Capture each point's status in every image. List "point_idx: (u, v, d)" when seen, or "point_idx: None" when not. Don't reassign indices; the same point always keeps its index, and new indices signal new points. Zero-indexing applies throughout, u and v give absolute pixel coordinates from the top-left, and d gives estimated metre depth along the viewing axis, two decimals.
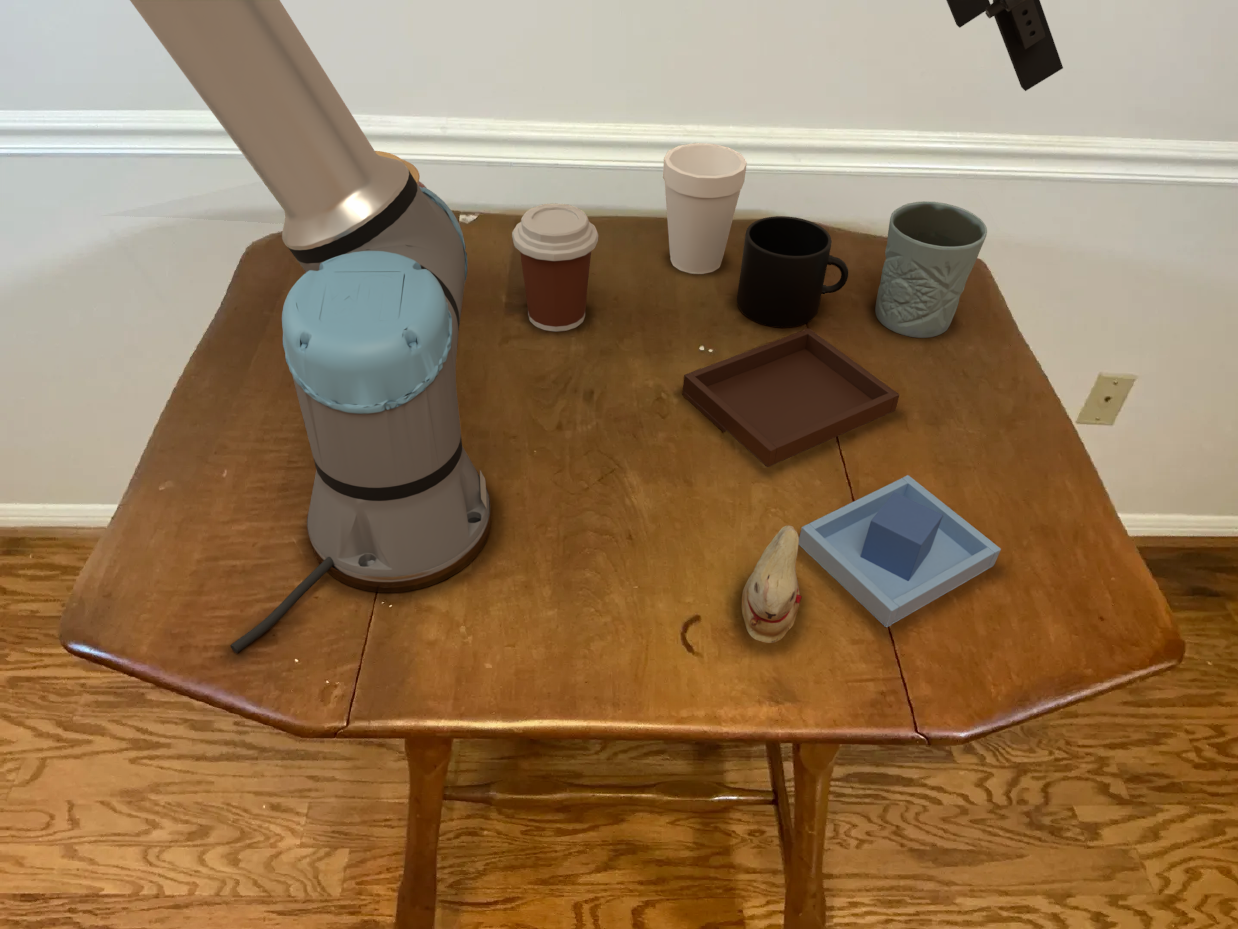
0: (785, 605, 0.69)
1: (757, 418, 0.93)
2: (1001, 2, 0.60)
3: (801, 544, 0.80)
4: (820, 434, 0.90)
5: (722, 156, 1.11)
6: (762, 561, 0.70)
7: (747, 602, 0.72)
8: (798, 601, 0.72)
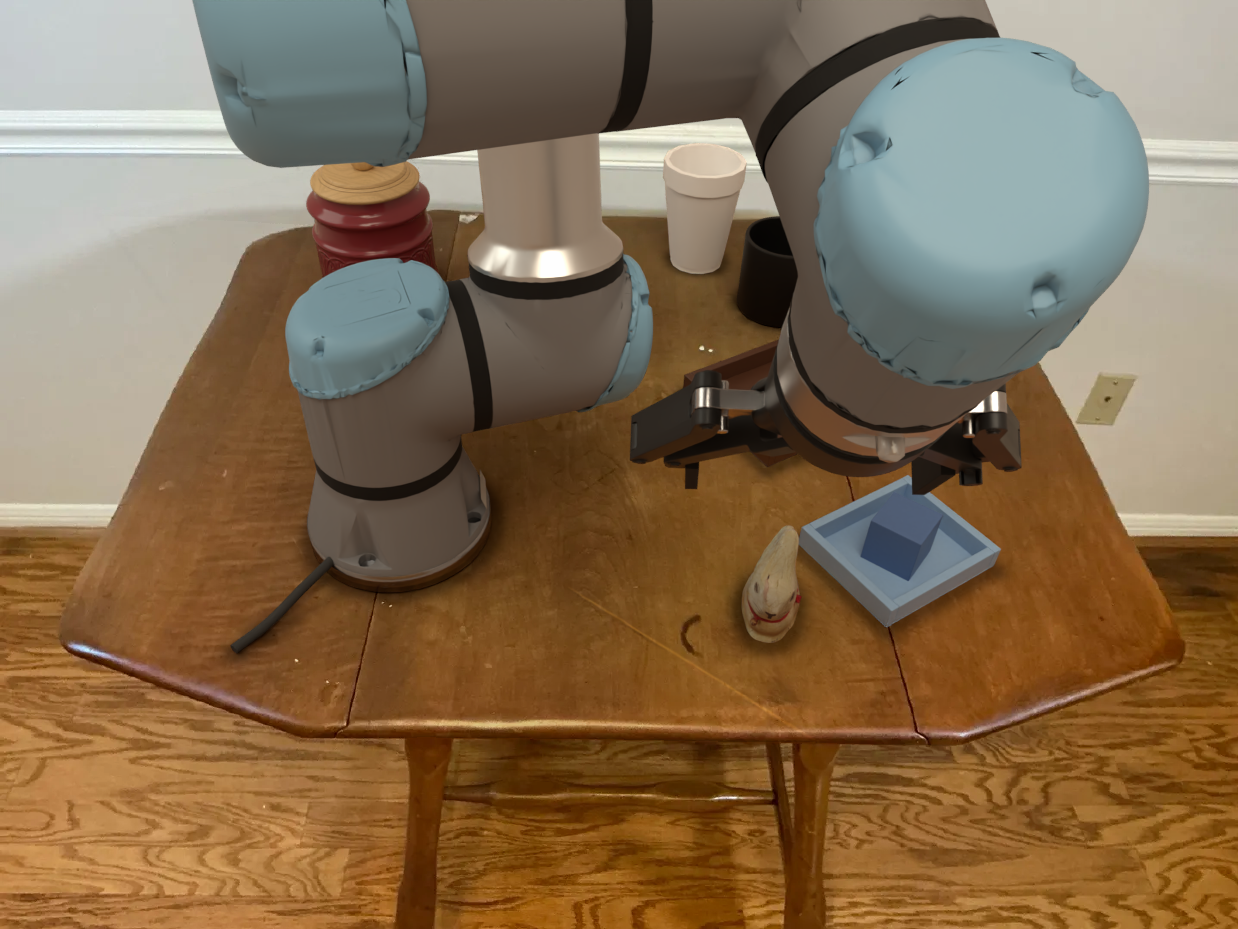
0: (785, 605, 0.69)
1: None
2: None
3: (801, 544, 0.80)
4: None
5: (722, 156, 1.11)
6: (762, 561, 0.70)
7: (747, 602, 0.72)
8: (798, 601, 0.72)
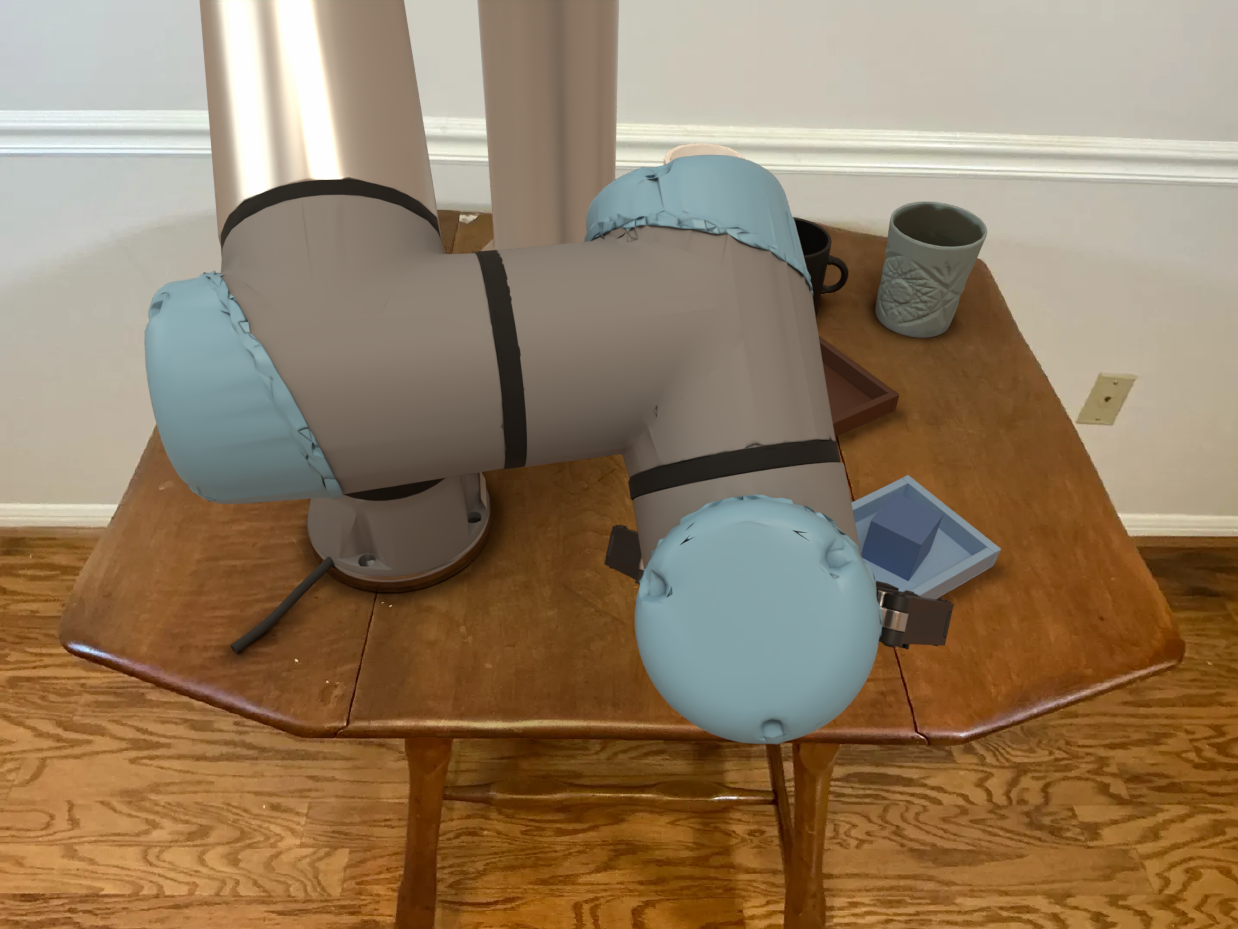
0: None
1: None
2: (621, 525, 0.57)
3: None
4: None
5: None
6: None
7: None
8: None
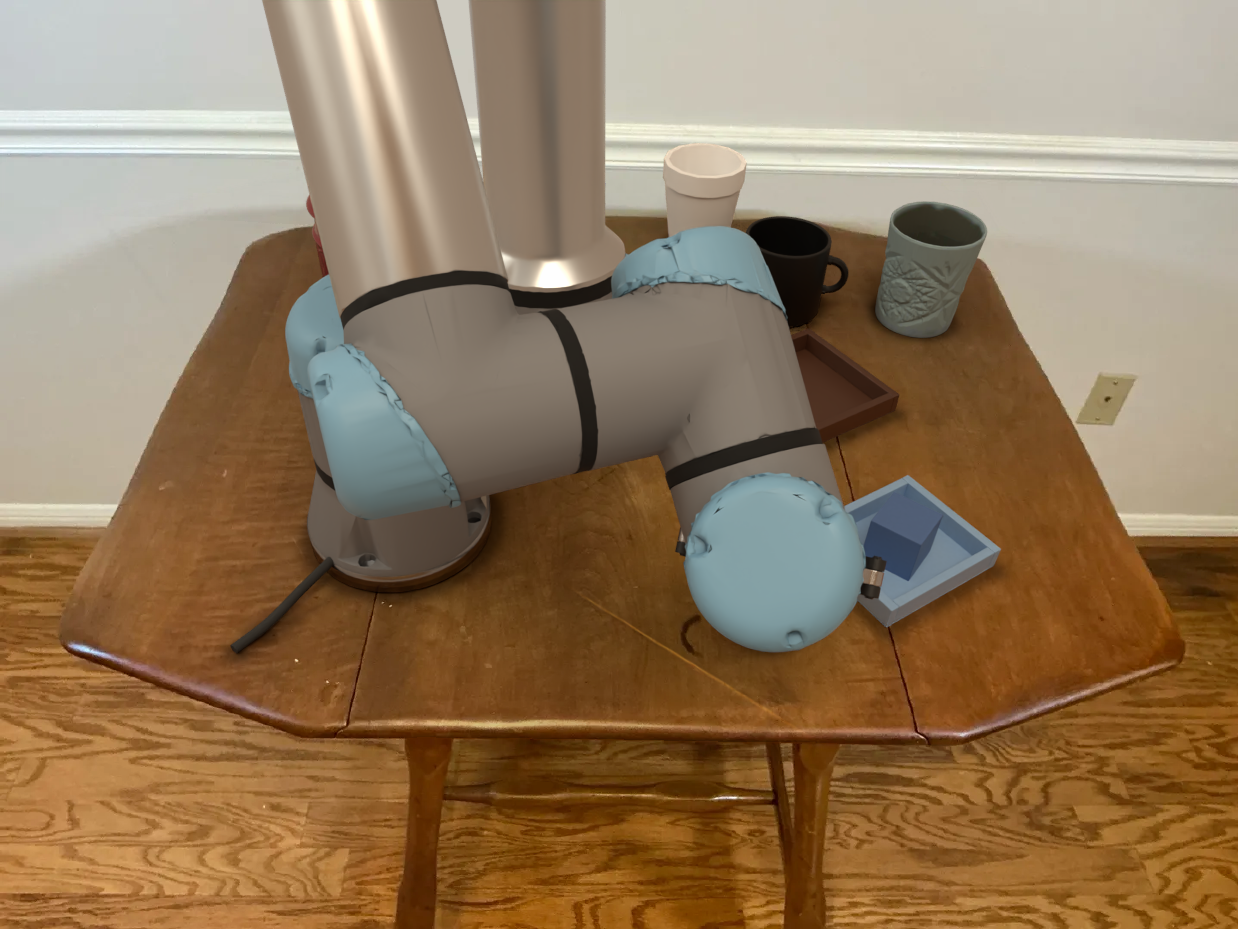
0: None
1: None
2: None
3: None
4: (820, 434, 0.90)
5: (722, 156, 1.11)
6: None
7: None
8: None
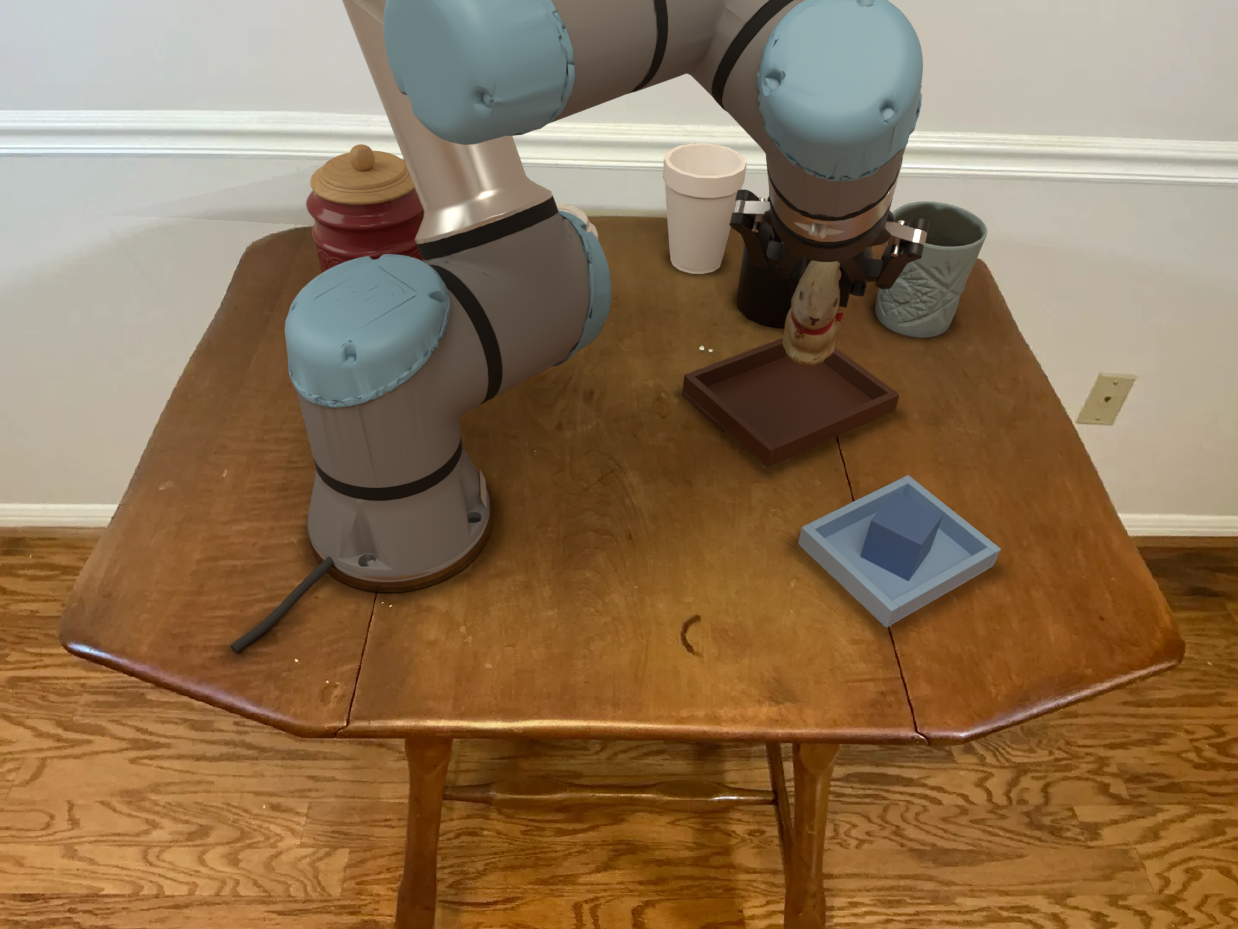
0: (828, 310, 0.73)
1: (757, 418, 0.93)
2: None
3: (801, 544, 0.80)
4: (820, 434, 0.90)
5: (722, 156, 1.11)
6: (807, 272, 0.74)
7: (791, 319, 0.76)
8: (839, 318, 0.76)
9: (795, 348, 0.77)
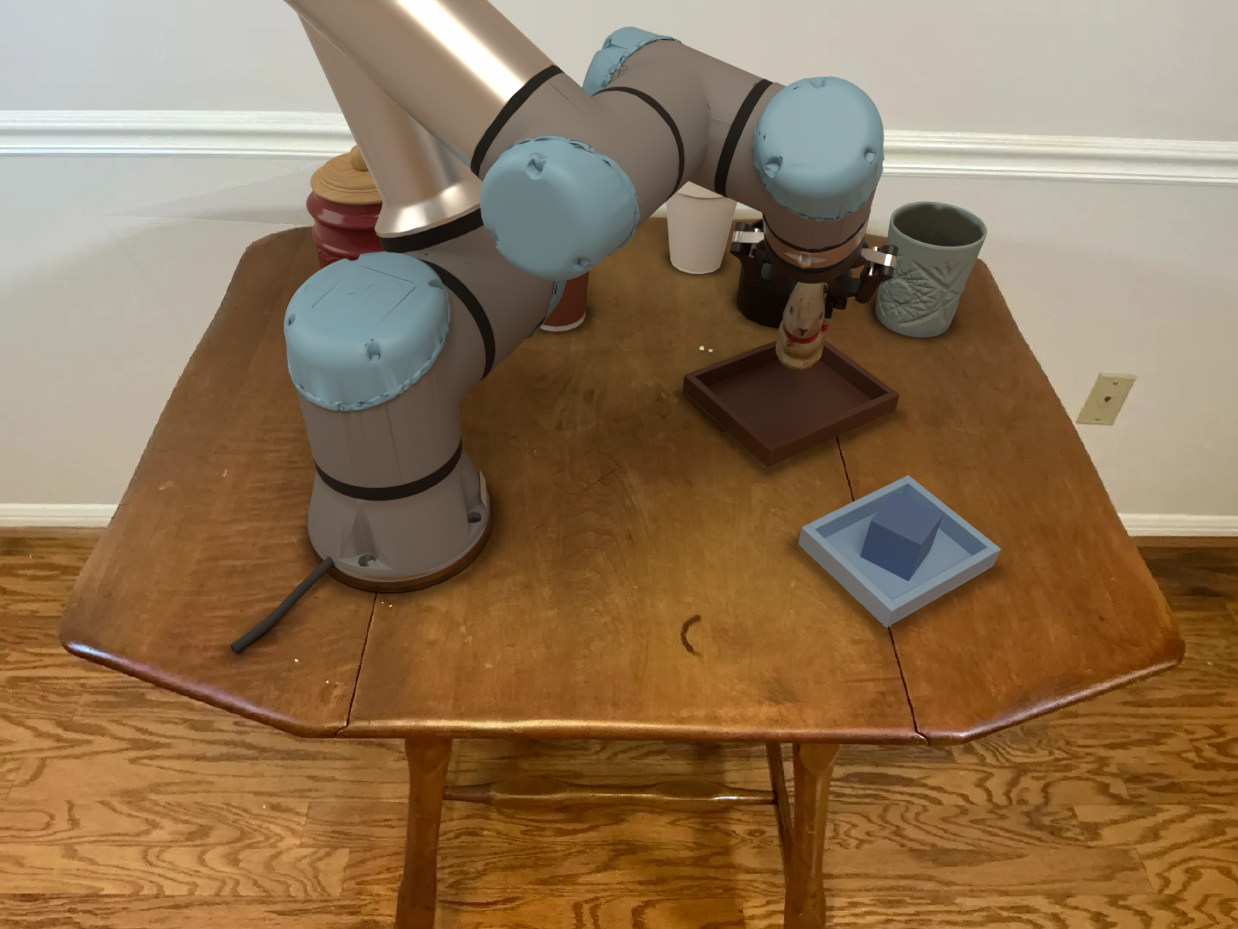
0: (815, 322, 0.85)
1: (757, 418, 0.93)
2: None
3: (801, 544, 0.80)
4: (820, 434, 0.90)
5: None
6: (796, 289, 0.86)
7: (783, 330, 0.88)
8: (825, 328, 0.88)
9: (787, 355, 0.89)
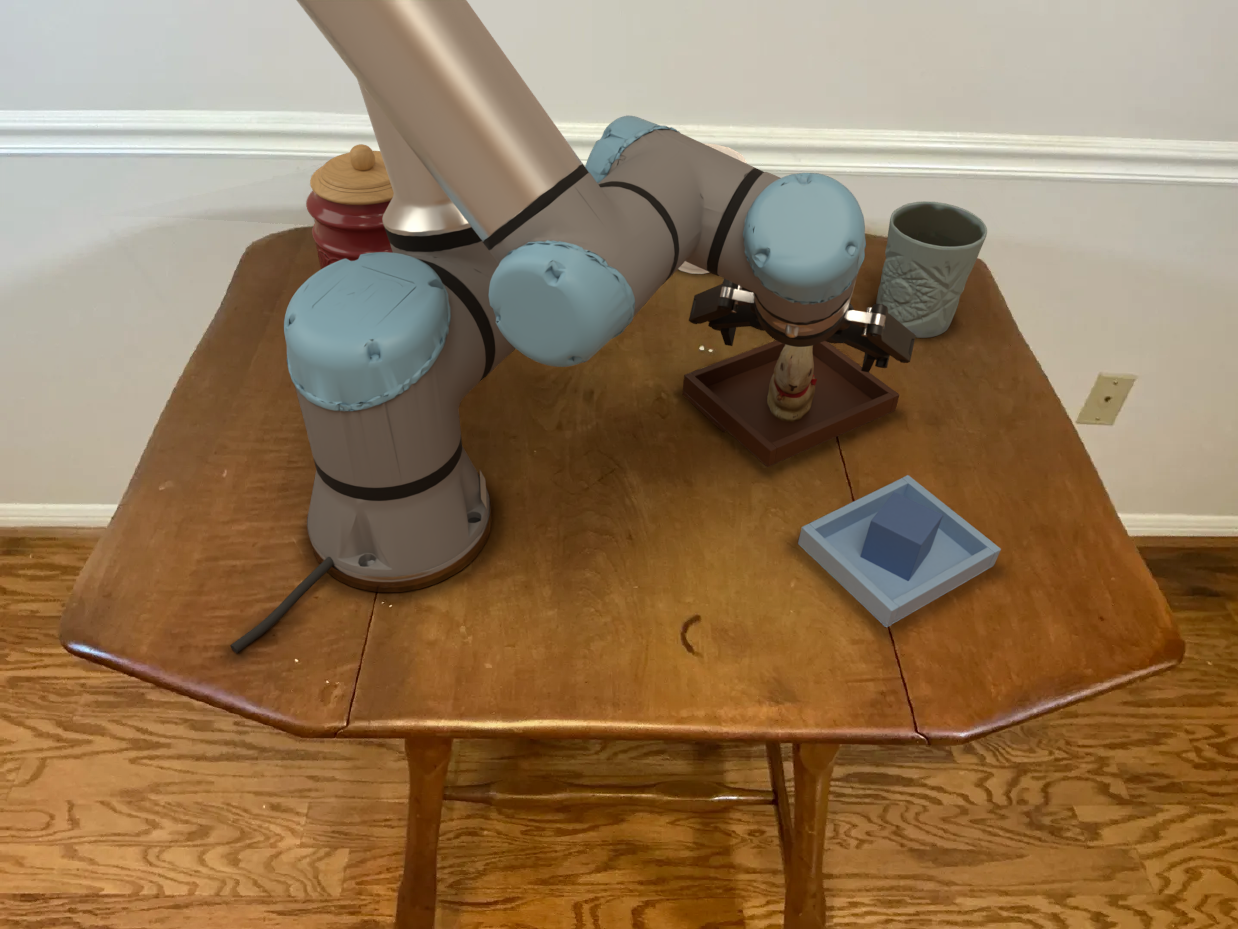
0: (804, 379, 0.89)
1: (757, 418, 0.93)
2: None
3: (801, 544, 0.80)
4: (820, 434, 0.90)
5: None
6: (786, 346, 0.90)
7: (774, 384, 0.92)
8: (814, 383, 0.92)
9: (777, 407, 0.93)
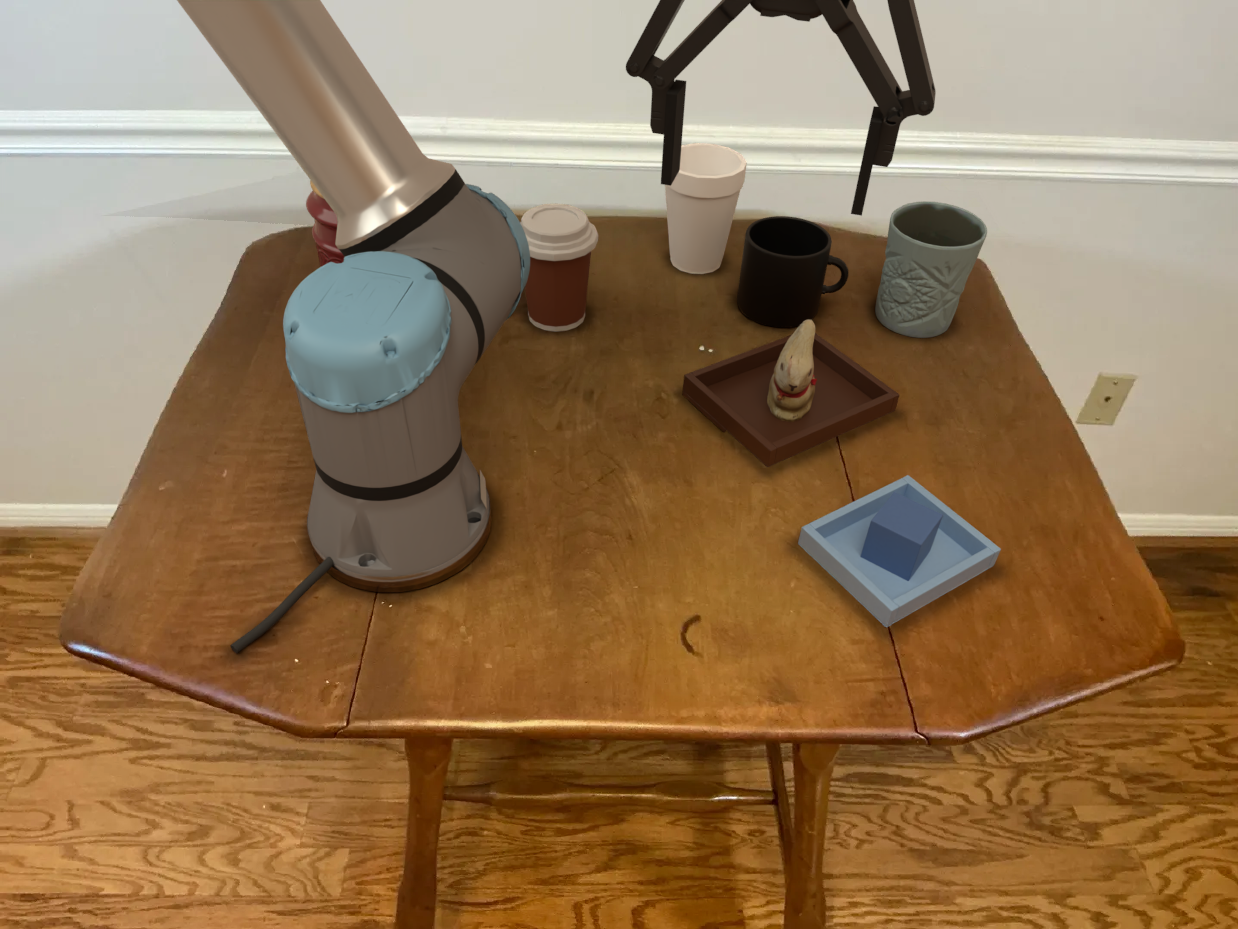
0: (804, 379, 0.89)
1: (757, 418, 0.93)
2: None
3: (801, 544, 0.80)
4: (820, 434, 0.90)
5: (722, 156, 1.11)
6: (786, 346, 0.90)
7: (774, 384, 0.92)
8: (814, 383, 0.92)
9: (777, 407, 0.93)
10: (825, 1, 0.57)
